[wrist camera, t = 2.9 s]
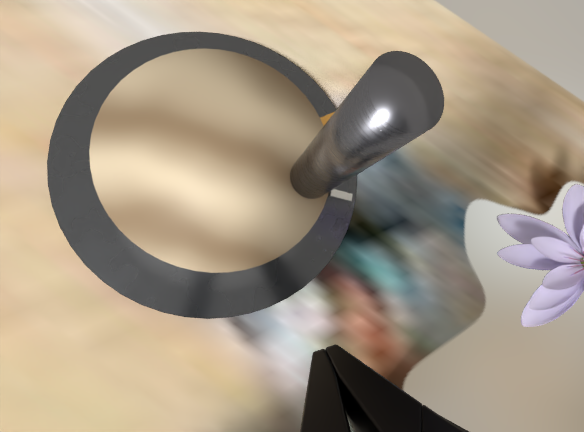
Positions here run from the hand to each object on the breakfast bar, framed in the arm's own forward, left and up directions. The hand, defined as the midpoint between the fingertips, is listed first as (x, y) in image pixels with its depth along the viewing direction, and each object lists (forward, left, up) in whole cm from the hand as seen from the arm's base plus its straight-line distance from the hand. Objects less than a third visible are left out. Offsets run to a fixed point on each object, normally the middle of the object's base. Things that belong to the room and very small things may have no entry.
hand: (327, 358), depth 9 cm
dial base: (+7, +7, -11) cm, 15 cm away
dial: (+7, +7, -10) cm, 15 cm away
